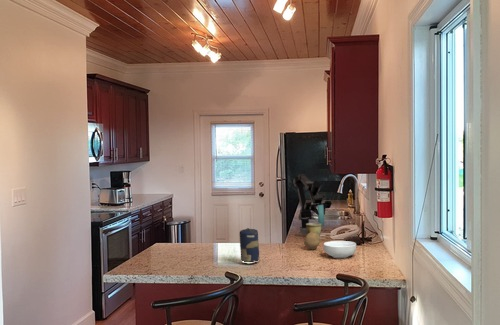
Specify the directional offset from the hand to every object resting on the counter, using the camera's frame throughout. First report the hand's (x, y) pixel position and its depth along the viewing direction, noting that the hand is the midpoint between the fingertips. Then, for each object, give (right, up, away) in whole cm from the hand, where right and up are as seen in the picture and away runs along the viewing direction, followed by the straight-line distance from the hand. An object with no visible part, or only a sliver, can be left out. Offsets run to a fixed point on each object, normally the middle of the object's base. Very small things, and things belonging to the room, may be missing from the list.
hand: (321, 214), depth 292 cm
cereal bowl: (-1, -14, -68) cm, 69 cm away
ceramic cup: (-7, -14, -15) cm, 22 cm away
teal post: (0, -8, +1) cm, 8 cm away
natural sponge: (-13, -14, -47) cm, 51 cm away
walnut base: (-10, -14, +3) cm, 17 cm away
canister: (-48, -16, -70) cm, 87 cm away
